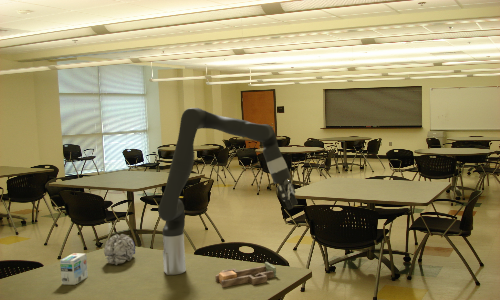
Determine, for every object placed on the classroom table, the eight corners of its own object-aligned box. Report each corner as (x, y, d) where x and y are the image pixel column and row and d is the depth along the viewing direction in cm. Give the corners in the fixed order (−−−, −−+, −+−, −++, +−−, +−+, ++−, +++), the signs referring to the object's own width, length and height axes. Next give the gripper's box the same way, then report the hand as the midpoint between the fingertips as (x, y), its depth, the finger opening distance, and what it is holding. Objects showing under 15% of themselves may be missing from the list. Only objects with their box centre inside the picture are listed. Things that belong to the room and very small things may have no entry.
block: (223, 286, 190) (223, 276, 190) (219, 282, 195) (218, 272, 194) (237, 283, 192) (236, 273, 192) (232, 279, 197) (232, 270, 197)
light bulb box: (75, 285, 199) (73, 260, 198) (61, 284, 200) (59, 260, 199) (88, 276, 209) (86, 253, 208) (75, 276, 211) (73, 252, 210)
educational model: (137, 269, 235) (140, 238, 240) (127, 263, 216) (130, 230, 222) (110, 269, 235) (113, 239, 241) (97, 263, 217) (101, 230, 222)
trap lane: (225, 290, 185) (225, 280, 184) (212, 278, 199) (212, 269, 199) (280, 279, 194) (279, 269, 194) (263, 268, 209) (263, 259, 208)
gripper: (275, 170, 199) (289, 206, 199) (265, 175, 186) (280, 213, 185) (290, 164, 197) (305, 200, 196) (282, 169, 183) (297, 207, 183)
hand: (293, 206), depth 191 cm, fingers open, 8 cm apart
